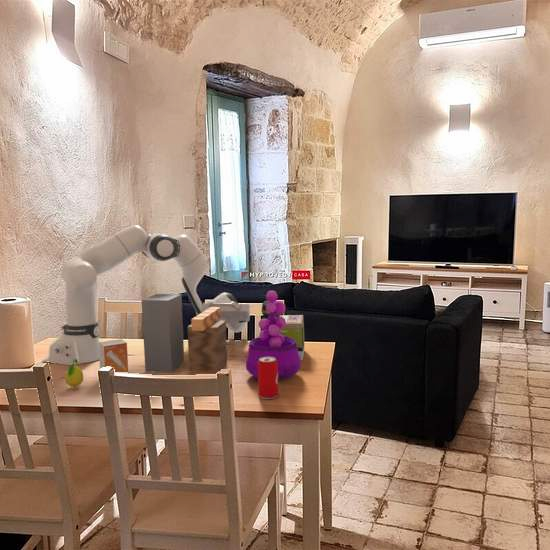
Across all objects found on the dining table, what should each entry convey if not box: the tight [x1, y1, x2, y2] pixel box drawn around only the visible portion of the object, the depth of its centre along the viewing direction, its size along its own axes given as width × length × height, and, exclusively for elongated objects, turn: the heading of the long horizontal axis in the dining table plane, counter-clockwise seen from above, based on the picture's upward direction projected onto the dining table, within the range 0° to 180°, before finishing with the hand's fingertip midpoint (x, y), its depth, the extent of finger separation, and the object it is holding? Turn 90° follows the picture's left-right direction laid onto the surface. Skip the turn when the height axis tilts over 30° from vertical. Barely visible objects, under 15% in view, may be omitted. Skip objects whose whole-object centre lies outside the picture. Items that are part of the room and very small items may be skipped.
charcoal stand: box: [141, 293, 185, 373], centre depth 197 cm, size 13×10×26 cm
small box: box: [99, 338, 129, 373], centre depth 185 cm, size 8×6×13 cm
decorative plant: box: [245, 290, 302, 381], centre depth 182 cm, size 19×18×30 cm
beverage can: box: [257, 357, 280, 400], centre depth 165 cm, size 6×6×12 cm
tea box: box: [279, 314, 305, 361], centre depth 209 cm, size 15×10×15 cm, turn 175°
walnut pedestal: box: [187, 321, 228, 372], centre depth 197 cm, size 11×11×16 cm
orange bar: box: [190, 307, 221, 331], centre depth 196 cm, size 22×4×4 cm, turn 169°
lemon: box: [64, 358, 84, 389], centre depth 177 cm, size 7×6×10 cm
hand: (221, 303), depth 214 cm, fingers open, 8 cm apart
